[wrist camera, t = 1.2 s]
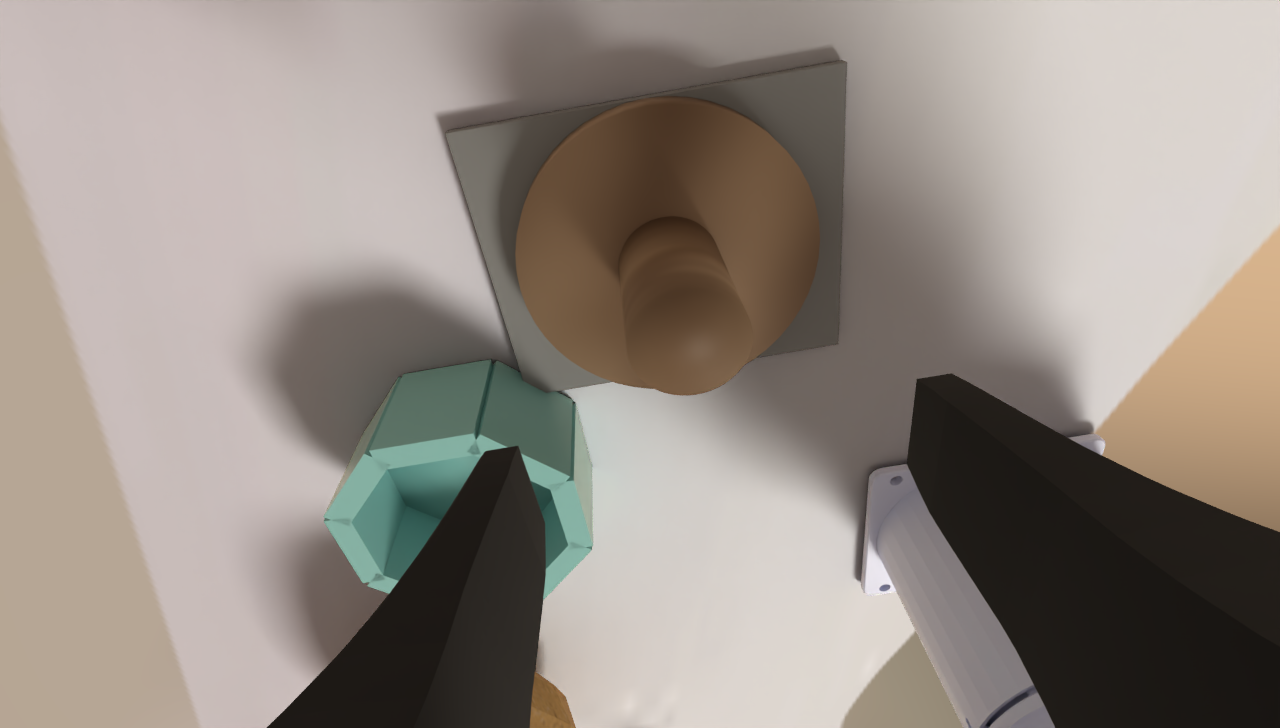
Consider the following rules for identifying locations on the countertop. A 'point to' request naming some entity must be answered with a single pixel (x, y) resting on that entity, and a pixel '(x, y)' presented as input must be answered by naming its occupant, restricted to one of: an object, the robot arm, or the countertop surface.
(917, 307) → the countertop surface
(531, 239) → the lid
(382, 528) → the bowl
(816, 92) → the mat
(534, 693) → the potato
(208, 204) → the countertop surface
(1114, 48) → the countertop surface
